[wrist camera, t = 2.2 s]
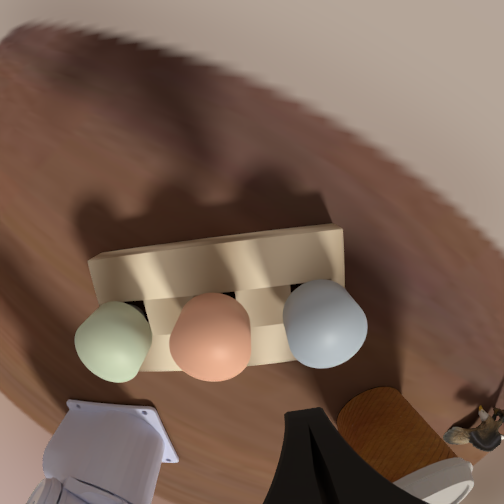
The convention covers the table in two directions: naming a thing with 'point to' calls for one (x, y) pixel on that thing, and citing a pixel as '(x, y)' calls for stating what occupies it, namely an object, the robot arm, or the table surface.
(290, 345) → the slate button
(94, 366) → the sage button
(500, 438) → the eagle figurine
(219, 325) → the peach round knob
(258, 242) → the button board
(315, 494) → the robot arm
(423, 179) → the table surface
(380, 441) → the disposable coffee cup
